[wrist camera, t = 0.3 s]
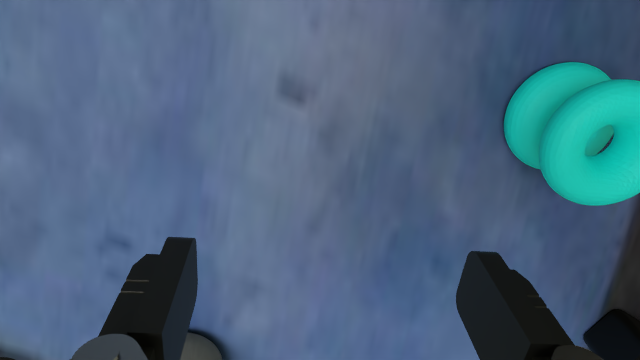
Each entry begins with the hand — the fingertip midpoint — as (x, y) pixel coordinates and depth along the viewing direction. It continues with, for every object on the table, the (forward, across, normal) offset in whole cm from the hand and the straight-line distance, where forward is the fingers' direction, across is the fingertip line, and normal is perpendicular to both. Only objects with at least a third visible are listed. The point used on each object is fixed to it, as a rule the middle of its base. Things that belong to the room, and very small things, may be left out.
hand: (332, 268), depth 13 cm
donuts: (+29, -24, +3) cm, 37 cm away
